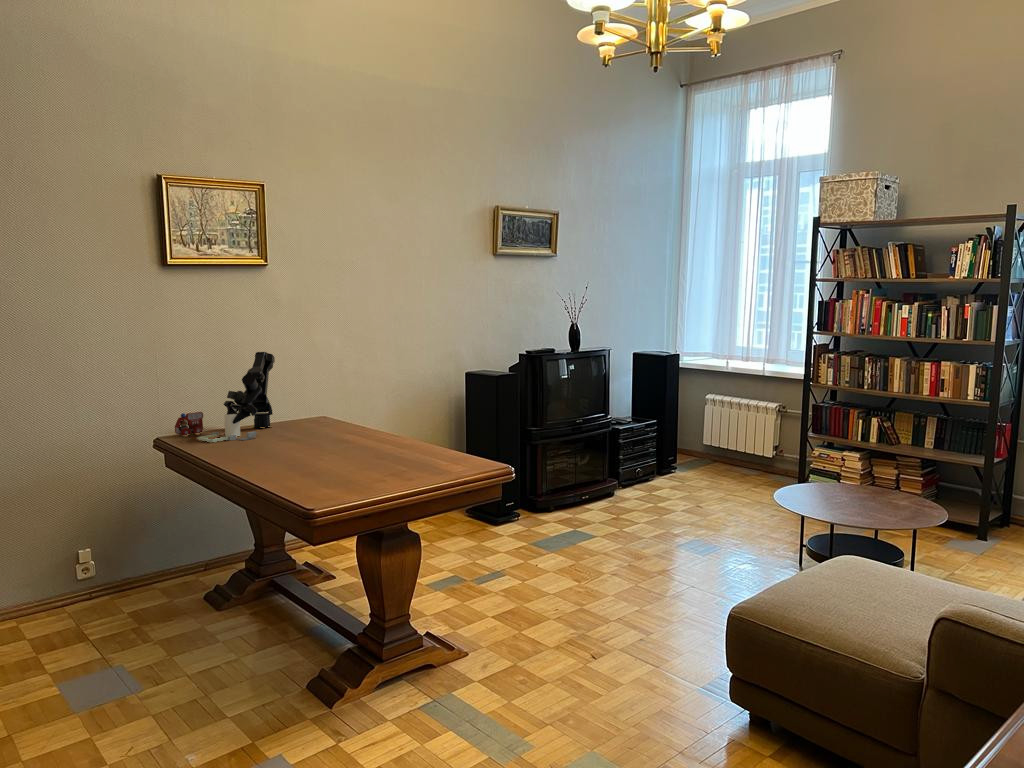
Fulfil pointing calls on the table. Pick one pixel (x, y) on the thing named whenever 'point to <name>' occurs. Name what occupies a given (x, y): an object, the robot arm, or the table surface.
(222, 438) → the sage bay
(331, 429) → the table surface
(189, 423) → the toy fire truck
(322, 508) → the table surface
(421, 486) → the table surface
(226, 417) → the ivory block
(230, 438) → the channel
